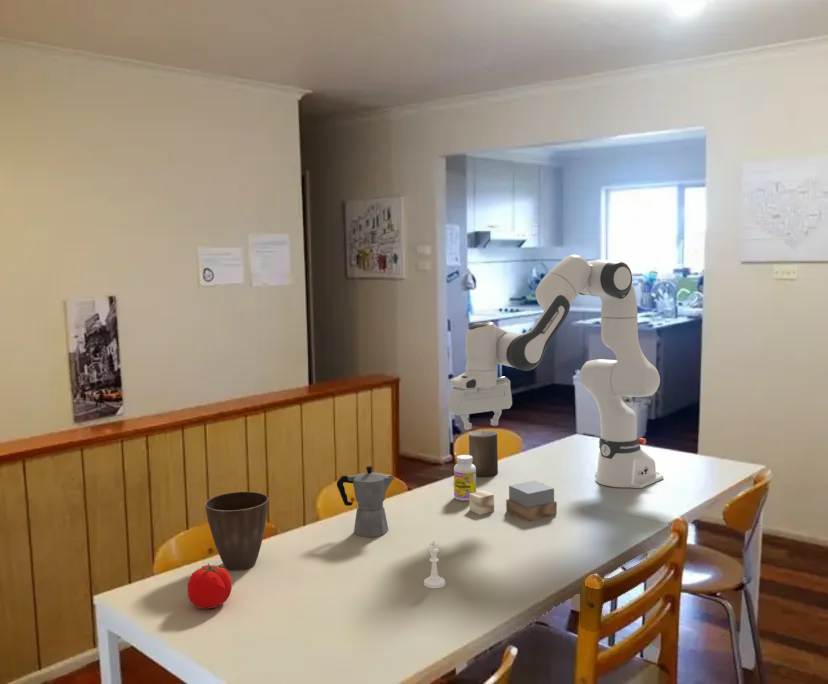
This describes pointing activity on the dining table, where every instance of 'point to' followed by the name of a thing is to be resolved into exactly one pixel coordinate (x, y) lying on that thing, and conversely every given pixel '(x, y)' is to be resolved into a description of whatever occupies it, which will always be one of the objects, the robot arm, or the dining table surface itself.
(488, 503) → the birch block
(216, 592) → the tomato
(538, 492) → the tower top
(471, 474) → the supplement bottle
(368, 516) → the coffeepot
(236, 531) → the plant pot
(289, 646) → the dining table surface
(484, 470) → the pillar candle
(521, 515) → the tower base
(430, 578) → the chess piece
